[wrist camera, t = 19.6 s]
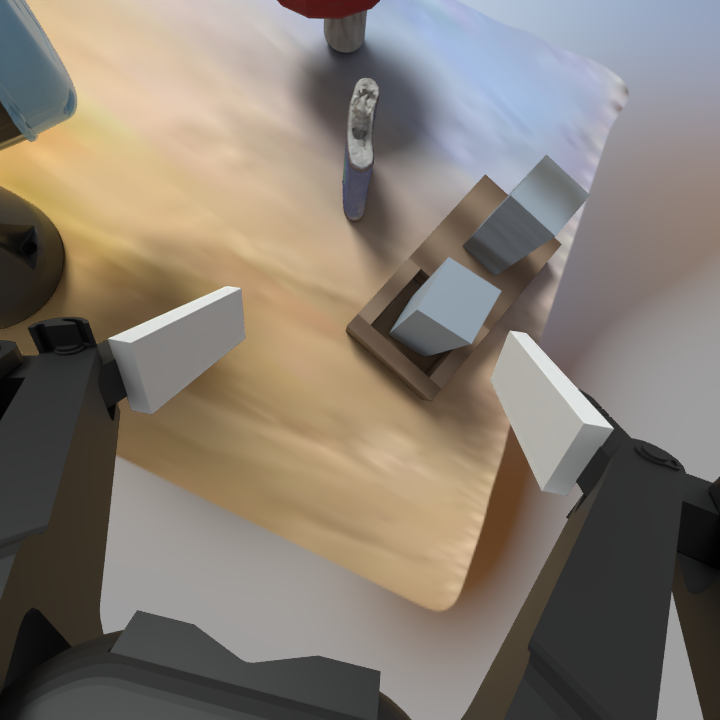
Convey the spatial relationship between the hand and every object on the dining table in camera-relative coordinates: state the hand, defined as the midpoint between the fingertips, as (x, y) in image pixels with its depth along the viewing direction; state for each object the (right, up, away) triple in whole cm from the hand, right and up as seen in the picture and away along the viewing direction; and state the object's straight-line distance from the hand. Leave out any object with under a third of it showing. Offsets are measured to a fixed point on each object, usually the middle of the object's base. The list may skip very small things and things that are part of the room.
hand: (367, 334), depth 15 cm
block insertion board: (+10, +7, +21) cm, 24 cm away
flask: (-1, +20, +21) cm, 29 cm away
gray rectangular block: (+6, +2, +20) cm, 21 cm away
